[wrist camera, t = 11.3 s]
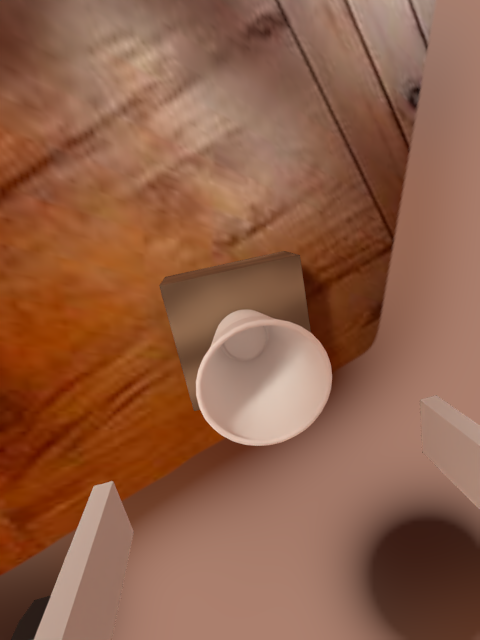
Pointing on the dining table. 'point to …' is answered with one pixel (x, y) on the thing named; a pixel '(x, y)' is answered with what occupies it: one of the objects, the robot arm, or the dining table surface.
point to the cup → (262, 379)
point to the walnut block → (230, 302)
